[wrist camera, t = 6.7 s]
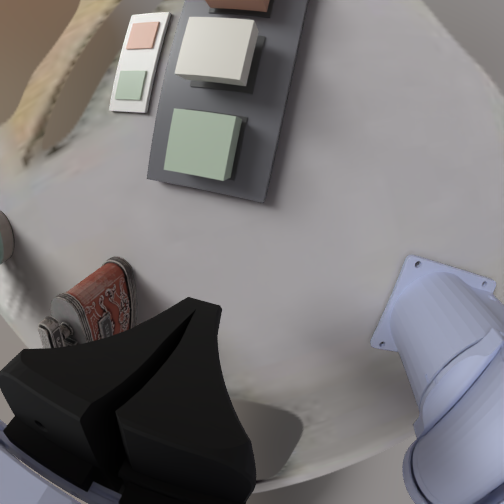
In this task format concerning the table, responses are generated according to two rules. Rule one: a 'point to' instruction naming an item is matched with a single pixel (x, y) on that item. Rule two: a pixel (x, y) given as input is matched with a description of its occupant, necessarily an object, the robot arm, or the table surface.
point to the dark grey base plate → (235, 98)
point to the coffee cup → (5, 239)
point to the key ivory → (217, 50)
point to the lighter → (92, 307)
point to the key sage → (202, 143)
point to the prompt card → (139, 62)
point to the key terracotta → (240, 4)
